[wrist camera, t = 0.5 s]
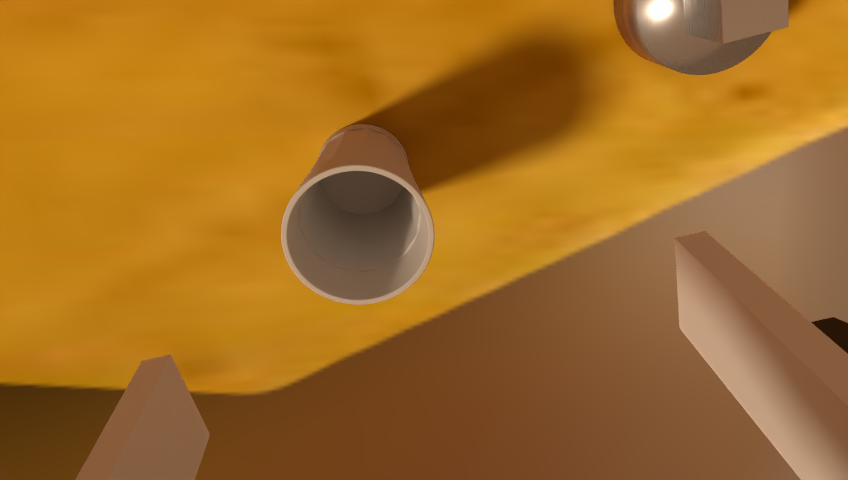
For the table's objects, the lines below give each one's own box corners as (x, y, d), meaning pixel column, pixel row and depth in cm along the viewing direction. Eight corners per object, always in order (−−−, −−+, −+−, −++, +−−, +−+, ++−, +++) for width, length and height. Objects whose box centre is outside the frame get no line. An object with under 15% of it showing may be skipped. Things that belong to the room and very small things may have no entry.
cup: (419, 109, 42) (433, 161, 31) (421, 219, 46) (435, 300, 35) (299, 113, 42) (272, 168, 31) (311, 224, 45) (289, 308, 34)
